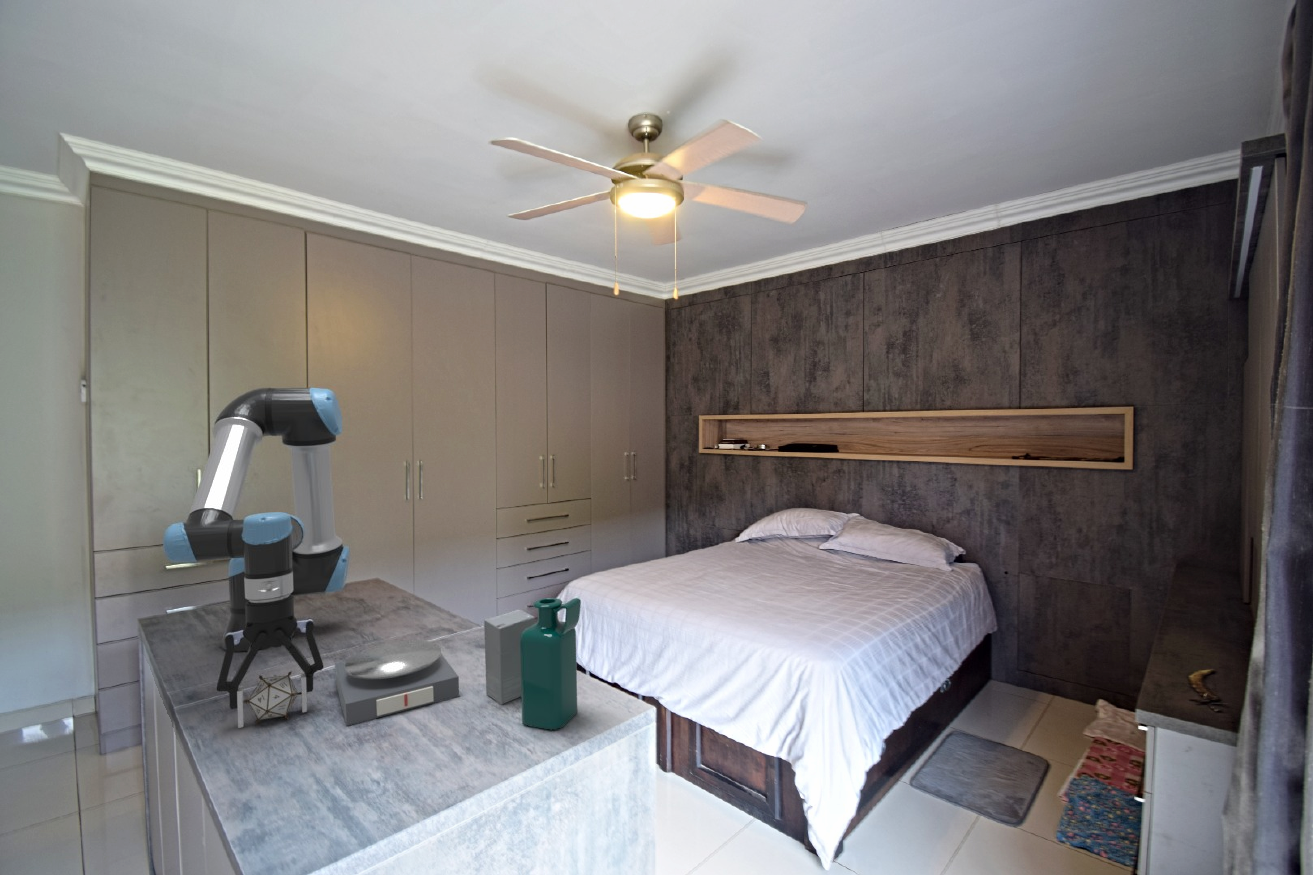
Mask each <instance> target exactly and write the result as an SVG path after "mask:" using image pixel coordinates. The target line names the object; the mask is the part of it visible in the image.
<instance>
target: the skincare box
mask: <svg viewBox="0 0 1313 875" xmlns="http://www.w3.org/2000/svg"><path fill="white" fill-rule="evenodd" d="M483 621H484V622H483V624H484V625H483V626H484V657H485V658H484V659H485V664H484V665H485V685H486V686H485V690H486V691H485V692H486V695H487V696H489V697H491V699H493V700H494V701H496V702H497V703H498V704H500V705H505V704H507V703H509V702H512V701H513V700H516V699H518V698H521V665H520V636H521V634H522V632H523V631H524V630H525V629H527V628H528V627H530V626H532V625H533V624H535V623H536V617H535V616H534V615H532V614H530V613H527V612H525V611H524V610H522V609H519V608H518V609H514V610H512V611H511V610H510V611H508V612H506V613H503V614H499V615H496V616H492V617H488V618H485V619H484V620H483Z"/></svg>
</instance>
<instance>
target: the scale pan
mask: <svg viewBox="0 0 1313 875" xmlns="http://www.w3.org/2000/svg"><path fill="white" fill-rule="evenodd" d="M441 654H442V649H441V646H440V645H439V644H437V643H435V642H433V641H428V640H421V639H409V640H408V639H407V640H406V639H405V640H397V641H390V642H386V643H381V644H378V645H373V646H371V647H368V648H365V649H363V650H360V651H359V652H357V653H355V654H353V655H352V656H350V657H349V658H348V659H347V660H345V661H346V663H345V671H346V673H347V674H348V675H350V676H352V677H355V678H360V679H385V678H393V677H398V676H403V675H407V674H411V673H414V672H417V671H420V670H422V669H424V668H427V667H428V666H430V665H432V664H434V663H435V662H436V661H437V660H438V659H439V658H440V656H441Z"/></svg>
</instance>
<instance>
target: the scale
mask: <svg viewBox="0 0 1313 875" xmlns="http://www.w3.org/2000/svg"><path fill="white" fill-rule="evenodd" d="M346 661H347V660H345V661H340V662H335V663H334V672H335V673H334V674H335V675H334V676H335V677H334V678H335V685H336V690H337V693H338V694H337V695H338V697H339V701H340V704H341V705H340V706H341V710H342V713H343V718H344V721H345V725H346V727H348V726H351V725H356V724H360V723H363V722H367V721H370V720H374V719H377V718H381V717H382V718H383V717H385V716H389V715H393V714H397V713H401V712H405V711H409V710H413V709H417V708H420V707H424V706H428V705H432V704H436V703H439V702H442V701H446V700H447V701H448V700H451V699H454V698H458V697H460V680H459V679H460V678H459V675H458V674H457V672H456V671H455V670H454V668H453V667H452V665H451V664H450V662H448V660H447V659H446V658H445V656H444V655H443V654H442V653H441V656H440V658H439V659H438V660H437V661H436V662H435V663H434V664H432V665H430V666H428V667H427V668H424V669H422V670H420V671H417V672H414V673H411V674H407V675H403V676H398V677H393V678H385V679H360V678H355V677H352V676H350V675H348V674H347V673H346V671H345V663H346Z"/></svg>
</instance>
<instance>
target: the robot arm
mask: <svg viewBox="0 0 1313 875" xmlns="http://www.w3.org/2000/svg"><path fill="white" fill-rule="evenodd" d="M342 421H343V418H342V412H341V407H340V403H339V401H338V398H337V396H336V394H335V393H334V391H333V390H331V389H329V388H317V387H276V388H274V387H273V388H271V387H260V388H256V389H252V390H250V391H249V390H248V391H247V392H245V393H243V394H240V395H239V396H237V397H236V398H234V399H233V400H232V401H230V402H229V403H228V404H227V405H226V406H225V407H224V408H223V409H222V410H221V412H220V413H219V414H218V416H217V417H216V419H215V421H214V424H213V426H212V435H213V437H214V441H213V444H212V447H211V449H210V452H209V454H208V459H207V460H206V464H205V467H204V469H203V472H202V475H201V479H200V482H199V484H198V487H197V490H196V493H195V495H194V499H193V500H192V504H191V508H190V510H189V513H188V516H187V520H186V521H185V522H184V521H183V522H178V523H173V524H170V525H169V527H167V528H166V530H165V532H164V536H163V541H162V544H163V545H162V546H163V552H164V555H165V556H166V559H167V560H169V561H170V562H171V563H198V562H207V561H208V562H209V561H218V560H229V559H230V560H229V562H228V574H227V578H228V590H229V593H228V594H229V610H230V611H229V613H230V614H229V618H228V620H227V624H226V627H225V630H224V632H223V636H222V641H221V642H222V649H223V650H224V651H225V653H224V657H223V662H222V664H221V669H220V671H219V672H220V673H219V677H218V680H217V686H216V688H215V690H216V691H217V692H228V694H229V696H228V697H229V708H230V711H232V710H236V709H237V728H238V729H241V728H244V723H245V711H244V702H243V701H244V690H243V689H244V686H243V685H241V683H242V682H243V679H244V677H245V675H246V674H247V673H248V670H249V669H250V666H251V665H252V663H253V661H254V659H255V657H256V655H257V654H258V652H259V650H261V651H263V650H267V649H268V650H269V649H271V648H279V647H280V648H281V647H282V646H284V648H285V649H286V651H287V652H288V653H289V654H290V656H291V657H292V658H293V659H294V661H295V662H296V664H297V665H298V666H299V668H300V670H302V673H300V686H301V689H300V690H301V691H300V692H301V693H302V694H301V711H302V712H301V713H306V712H308V701H307V700H308V699H307V697H308V696H307V693H310V692H313V691H314V675H315V673H317V672H319V671H322V670H323V669H324V661H323V659H322V655H321V653H320V650H319V647H318V644H317V640H316V637H315V635H314V620H313V618H311V617H309V618H308V617H307V619H305V620H297V619H296V617H295V606H294V604H295V603H294V602H295V601H294V600H295V599H294V597H300V596H309V595H310V596H311V595H321V594H324V595H326V594H327V593H334V592H339V591H342V590H343V589H344V587H345V585H346V581H347V577H348V570H349V562H350V547H349V546H346V545H344V546H343V540H342V538H341V537H339V536H338V535H337V534H336V526H335V524H336V523H335V506H334V493H333V492H334V491H333V477H332V463H331V447H332V446H333V445H334V444H335V443H336V442H337V436H339V435H342V433H343V422H342ZM269 436H271V437H278V436H279V437H281V440H282V442H281V443H282V445H283V446H284V447H286V448H287V449H288V450H290V461H291V462H290V463H291V475H292V489H293V490H292V491H293V500H294V501H293V502H294V503H293V504H294V513H295V514H294V515H293V514H288V512H287V513H286V512H283V511H276V512H275V511H273V512H271V511H270V512H263V513H261V512H260V513H256V514H251V515H250V514H249V515H248V516H246V517H244V518H243V519H235V517H236V514H237V512H238V511H237V510H238V508H239V504H240V499H241V497H242V495H243V494H242V493H243V489H244V485H245V483H246V479H247V475H248V472H249V469H250V465H251V461H252V457H253V454H254V452H255V447H256V446H257V447H258V446H259V444H260V443H261V442H262V440H263V438H264V437H269ZM297 628H298V629H300V632H301V633H304V634H305V639H306V641H307V644H308V645H307V646H308V647H309V651H310V655H311V657H312V660H313V662H314V663H312V664H311V663H310V662H309V661H308V660H307V658H306V657H305V655H304V654H303V652H302V651H301V650H300V648H299V647H298V646H297V645H296V643H295V641H294V640H293V637H294V636H295V631H296V629H297ZM235 652H236V653H237V652H246V654H245V655H244V657H243V659H242V661H241V663H240V665H239V667H238V668H237V670H236V672H235V674H234V675H233V677H232V680H231V681H228V676H229V673H230V670H231V665H232V661H233V658H234V653H235Z"/></svg>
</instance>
